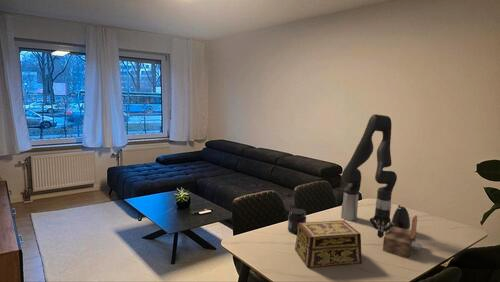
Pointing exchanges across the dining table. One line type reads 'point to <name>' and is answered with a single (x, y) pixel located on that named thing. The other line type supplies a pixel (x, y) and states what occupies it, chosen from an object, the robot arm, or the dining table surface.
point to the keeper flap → (414, 226)
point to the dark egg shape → (401, 218)
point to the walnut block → (398, 242)
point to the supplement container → (295, 219)
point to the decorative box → (328, 244)
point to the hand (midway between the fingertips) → (380, 237)
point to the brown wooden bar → (414, 244)
